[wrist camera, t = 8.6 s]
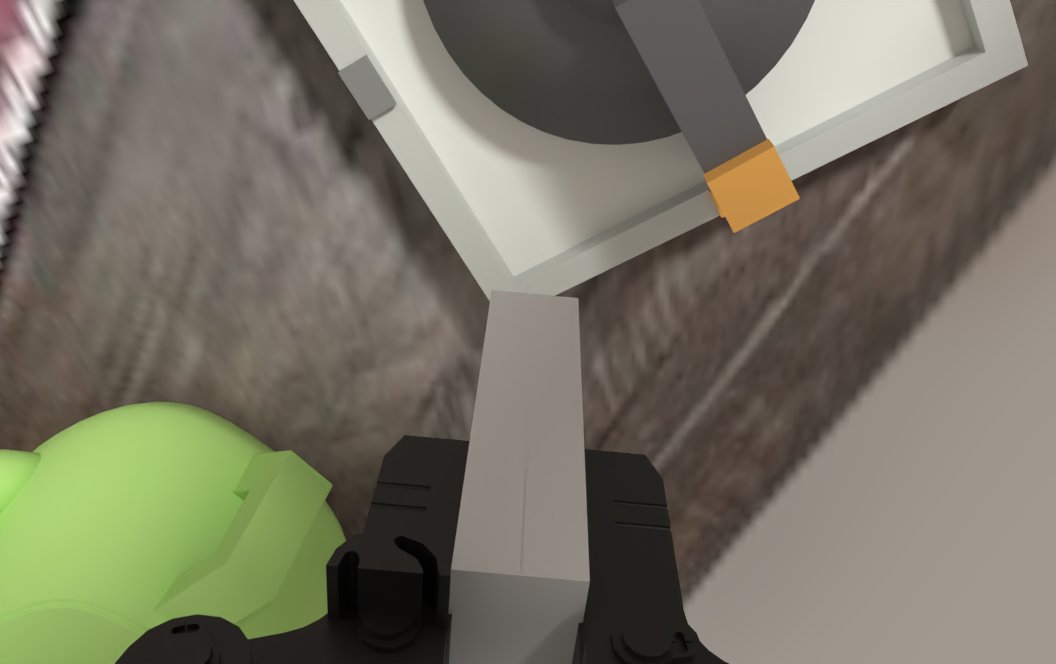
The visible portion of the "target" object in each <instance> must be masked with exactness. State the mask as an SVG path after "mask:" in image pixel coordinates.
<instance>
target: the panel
mask: <svg viewBox="0 0 1056 664" xmlns="http://www.w3.org/2000/svg"><path fill="white" fill-rule="evenodd" d="M294 2H295V3H296V5H297V6H298V8H299V9H300V11H301V12H302V14H303V16H304V17H305V19H306V20H307V22H308V23H309V25H310V26H311V28H312V29H313V31H314V32H315V34H316V35H317V37H318V39H319V40H320V42H321V43H322V45H323V46H324V48H325V49H326V51H327V52H328V54H329V55H330V57H331V58H332V60H333V62H334V63H335V65H336V66H337V68H338V69H339V72H338V74H339V75H340V77H341V78H342V80H343V81H344V83H345V84H346V86H347V88H348V89H349V91H350V92H351V94H352V95H353V97H354V98H355V100H356V101H357V103H358V104H359V106H360V107H361V109H362V110H363V112H364V114H365V115H366V117H367V118H368V120H370V119H371V120H372V121H373V123H374V124H375V126H376V128H377V129H378V131H379V132H380V134H381V135H382V137H383V138H384V140H385V141H386V143H387V144H388V146H389V147H390V149H391V151H392V152H393V154H394V155H395V157H396V158H397V160H398V161H399V163H400V164H401V166H402V167H403V169H404V170H405V172H406V174H407V175H408V177H409V178H410V180H411V181H412V183H413V184H414V186H415V187H416V189H417V190H418V192H419V193H420V195H421V197H422V198H423V200H424V201H425V203H426V204H427V206H428V207H429V209H430V210H431V212H432V213H433V215H434V216H435V218H436V220H437V221H438V223H439V224H440V226H441V227H442V229H443V230H444V232H445V233H446V235H447V236H448V238H449V239H450V241H451V243H452V244H453V246H454V247H455V249H456V250H457V252H458V253H459V255H460V256H461V258H462V259H463V261H464V262H465V264H466V266H467V267H468V269H469V270H470V272H471V273H472V275H473V276H474V278H475V279H476V281H477V282H478V284H479V286H480V287H481V289H482V290H483V292H484V293H485V295H486V296H487V298H488V299H489V301H490V298H491V291H492V290H497V291H508V292H518V293H529V294H540V295H550V296H555V295H558V294H560V293H562V292H564V291H566V290H568V289H570V288H572V287H574V286H576V285H578V284H580V283H582V282H584V281H586V280H588V279H590V278H592V277H595V276H597V275H599V274H601V273H603V272H605V271H607V270H609V269H611V268H613V267H615V266H617V265H619V264H621V263H623V262H625V261H627V260H629V259H632V258H634V257H636V256H638V255H640V254H642V253H644V252H646V251H648V250H650V249H652V248H654V247H656V246H658V245H660V244H662V243H664V242H666V241H669V240H671V239H673V238H675V237H677V236H679V235H681V234H683V233H685V232H687V231H689V230H691V229H693V228H695V227H697V226H699V225H701V224H703V223H706V222H708V221H710V220H712V219H714V218H716V217H718V216H721V218H723V217H725V215H724V213H723V212H722V210H721V208H720V206H719V204H718V202H717V201H716V199H715V197H714V195H713V193H712V191H711V189H710V188H709V186H708V184H707V182H706V180H705V177H704V175H703V174H704V172H703V170H702V168H701V166H700V164H699V163H698V161H697V159H696V157H695V155H694V153H693V151H692V150H691V148H690V146H689V144H688V142H687V140H686V138H685V137H684V135H683V133H682V132H680V133H678V134H675V135H672V136H669V137H666V138H661V139H657V140H652V141H647V142H643V143H633V144H621V145H607V144H590V143H584V142H579V141H573V140H567V139H564V138H561V137H558V136H554V135H551V134H548V133H545V132H543V131H540V130H538V129H536V128H534V127H532V126H529V125H527V124H525V123H523V122H521V121H519V120H518V119H516V118H515V117H513V116H511V115H510V114H508V113H507V112H505V111H503V110H502V109H500V108H499V107H498V106H497V105H496V104H494V103H493V102H492V101H491V100H489V99H488V98H487V97H486V96H485V95H483V94H482V93H481V92H480V91H479V90H478V89H477V88H476V87H475V86H474V85H473V84H472V82H471V81H470V80H469V79H468V78H467V77H466V76H465V75H464V74H463V73H462V71H461V70H460V69H459V67H458V66H457V64H456V63H455V62H454V60H453V59H452V58H451V56H450V55H449V54H448V52H447V50H446V48H445V47H444V45H443V43H442V41H441V40H440V38H439V36H438V34H437V32H436V31H435V29H434V26H433V24H432V21H431V19H430V16H429V14H428V11H427V9H426V7H425V4H424V1H423V0H294ZM1026 66H1028V63H1027V59H1026V56H1025V52H1024V49H1023V45H1022V41H1021V38H1020V34H1019V31H1018V27H1017V24H1016V20H1015V17H1014V13H1013V10H1012V6H1011V2H1010V0H815V1H814V4H813V6H812V8H811V10H810V13H809V15H808V17H807V19H806V21H805V23H804V24H803V26H802V28H801V29H800V31H799V33H798V35H797V36H796V38H795V40H794V41H793V43H792V45H791V46H790V47H789V49H788V50H787V51H786V52H785V54H784V55H783V56H782V58H781V59H780V60H779V62H778V63H777V64H776V66H775V67H774V68H773V69H772V70H771V71H770V72H769V73H768V74H767V75H766V76H765V77H764V78H763V79H762V80H761V82H760V83H759V84H758V85H757V86H756V87H755V88H753V89H752V90H751V91H750V92H748V93H747V94H746V97H747V99H748V101H749V103H750V105H751V107H752V110H753V112H754V114H755V116H756V118H757V120H758V122H759V124H760V126H761V128H762V130H763V132H764V134H765V136H766V138H767V139H769V140H770V141H771V142H772V144H773V145H774V147H775V149H776V151H777V153H778V155H779V157H780V159H781V161H782V163H783V165H784V167H785V169H786V171H787V173H788V175H789V177H790V179H791V181H792V180H794V179H796V178H798V177H800V176H802V175H804V174H806V173H808V172H810V171H812V170H814V169H816V168H819V167H821V166H823V165H825V164H827V163H829V162H831V161H833V160H835V159H837V158H839V157H841V156H843V155H845V154H847V153H849V152H851V151H853V150H856V149H858V148H860V147H862V146H864V145H866V144H868V143H870V142H872V141H874V140H876V139H878V138H880V137H882V136H884V135H886V134H888V133H890V132H893V131H895V130H897V129H899V128H901V127H903V126H905V125H907V124H909V123H911V122H913V121H915V120H917V119H919V118H921V117H923V116H925V115H927V114H930V113H932V112H934V111H936V110H938V109H940V108H942V107H944V106H946V105H948V104H950V103H952V102H954V101H956V100H958V99H960V98H962V97H964V96H967V95H969V94H971V93H973V92H975V91H977V90H979V89H981V88H983V87H985V86H987V85H989V84H991V83H993V82H995V81H997V80H999V79H1001V78H1004V77H1006V76H1008V75H1010V74H1012V73H1014V72H1016V71H1018V70H1020V69H1022V68H1024V67H1026Z"/></svg>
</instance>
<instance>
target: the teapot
mask: <svg viewBox="0 0 1056 664" xmlns="http://www.w3.org/2000/svg"><path fill="white" fill-rule="evenodd" d="M332 486H333V484H331V483H330V482H329V481H328V480H327V479H325V478H324V477H323V476H322V475H320V474H319V473H318V472H317V471H316V470H314V469H313V468H312V467H311V466H310V465H308V464H307V463H306V462H305V461H303V460H302V459H301V458H300V457H299V456H297V455H296V454H295V453H294V452H293V451H291V450H290V451H277V452H275V451H274V450H273V449H271V448H270V447H268V446H267V445H266V444H264V443H263V442H261V441H260V440H258V439H257V438H256V437H254V436H253V435H251V434H250V433H248V432H246V431H245V430H243V429H242V428H240V427H238V426H237V425H235V424H234V423H232V422H230V421H229V420H227V419H225V418H223V417H221V416H219V415H217V414H215V413H213V412H211V411H208V410H206V409H203V408H200V407H197V406H194V405H190V404H184V403H178V402H148V403H139V404H131V405H127V406H123V407H119V408H115V409H112V410H108V411H105V412H101V413H99V414H97V415H94V416H92V417H89V418H87V419H84V420H82V421H80V422H78V423H76V424H74V425H72V426H71V427H69V428H67V429H65V430H63V431H61V432H60V433H58V434H56V435H55V436H53V437H52V438H50V439H49V440H47V441H46V442H44V443H43V444H41V445H40V446H38V447H37V448H36V449H35V450H34V451H33V452H25V451H15V450H0V664H115V662H116V661H117V660H118V659H119V658H120V656H121V655H122V654H123V653H124V652H125V651H126V649H127V648H128V647H129V646H130V645H131V644H132V643H134V642H135V641H136V640H137V639H138V638H139V637H141V636H142V635H143V634H144V633H145V632H146V631H148V630H149V629H151V628H153V627H156V626H158V625H160V624H162V623H164V622H166V621H168V620H171V619H173V618H179V617H185V616H191V615H196V614H199V615H208V616H216V617H222V618H223V619H225V620H227V621H229V622H231V623H233V624H235V625H237V626H239V627H240V629H241V630H242V632H243V633H244V635H245V636H246V637H247V639H253V638H258V637H263V636H269V635H274V634H280V633H285V632H288V631H292V630H295V629H299V628H303V627H305V626H307V625H309V624H311V623H313V622H315V621H317V620H319V619H320V618H322V617H323V616H324V615H326V614H327V613H328V610H327V581H326V564H327V563H328V561H329V559H330V558H331V556H332V554H333V553H334V551H335V549H336V548H337V547H339V546H340V545H342V544H343V543H344V542H346V540H345V537H344V534H343V531H342V528H341V526H340V524H339V522H338V520H337V518H336V517H335V515H334V513H333V512H332V510H331V508H330V507H329V505H328V504H327V502H326V498H327V496H328V494H329V492H330V490H331V488H332Z"/></svg>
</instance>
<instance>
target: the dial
mask: <svg viewBox="0 0 1056 664" xmlns="http://www.w3.org/2000/svg"><path fill="white" fill-rule="evenodd" d="M423 1H424V4H425V7H426V9H427V11H428V14H429V16H430V19H431V21H432V24H433V26H434V29H435V31H436V32H437V34H438V36H439V38H440V40H441V41H442V43H443V45H444V47H445V48H446V50H447V52H448V54H449V55H450V56H451V58H452V59H453V60H454V62H455V63H456V64H457V66H458V67H459V69H460V70H461V71H462V73H463V74H464V75H465V76H466V77H467V78H468V79H469V80H470V81H471V82H472V84H473V85H474V86H475V87H476V88H477V89H478V90H479V91H480V92H481V93H482V94H483V95H485V96H486V97H487V98H488V99H489V100H491V101H492V102H493V103H494V104H496V105H497V106H498V107H499V108H500V109H502V110H503V111H505V112H507V113H508V114H510V115H511V116H513V117H515V118H516V119H518V120H519V121H521V122H523V123H525V124H527V125H529V126H532V127H534V128H536V129H538V130H540V131H543V132H545V133H548V134H551V135H554V136H558V137H561V138H564V139H567V140H573V141H579V142H584V143H590V144H607V145H621V144H633V143H643V142H647V141H652V140H657V139H661V138H666V137H669V136H672V135H675V134H678V133H680V132H682V133H683V135H684V137H685V138H686V140H687V142H688V144H689V146H690V148H691V150H692V151H693V153H694V155H695V157H696V159H697V161H698V163H699V164H700V166H701V168H702V170H703V172H704V174H703V175H704V177H705V180H706V182H707V184H708V186H709V188H710V189H711V191H712V193H713V195H714V197H715V199H716V201H717V202H718V204H719V206H720V208H721V210H722V212H723V213H724V215H725V217H726V219H727V221H728V223H729V225H730V226H731V228H732V230H733V232H734V233H735V232H737V231H739V230H741V229H743V228H745V227H747V226H749V225H751V224H752V223H754V222H756V221H758V220H760V219H762V218H764V217H766V216H768V215H770V214H772V213H773V212H775V211H777V210H779V209H781V208H783V207H785V206H787V205H789V204H791V203H793V202H794V201H796V200H798V199H800V197H799V195H798V193H797V191H796V189H795V187H794V185H793V183H792V181H791V179H790V177H789V175H788V173H787V171H786V169H785V167H784V165H783V163H782V161H781V159H780V157H779V155H778V153H777V151H776V149H775V147H774V145H773V144H772V142H771V141H770V140H769V139H767V138H766V136H765V134H764V132H763V130H762V128H761V126H760V124H759V122H758V120H757V118H756V116H755V114H754V112H753V110H752V107H751V105H750V103H749V101H748V99H747V97H746V94H747V93H748V92H750V91H751V90H752V89H753V88H755V87H756V86H757V85H758V84H759V83H760V82H761V80H762V79H763V78H764V77H765V76H766V75H767V74H768V73H769V72H770V71H771V70H772V69H773V68H774V67H775V66H776V64H777V63H778V62H779V60H780V59H781V58H782V56H783V55H784V54H785V52H786V51H787V50H788V49H789V47H790V46H791V45H792V43H793V41H794V40H795V38H796V36H797V35H798V33H799V31H800V29H801V28H802V26H803V24H804V23H805V21H806V19H807V17H808V15H809V13H810V10H811V8H812V6H813V4H814V1H815V0H423Z"/></svg>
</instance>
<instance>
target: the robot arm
mask: <svg viewBox="0 0 1056 664" xmlns="http://www.w3.org/2000/svg"><path fill="white" fill-rule="evenodd" d="M666 507H667V503H666V497H665V491H664V484H663V479H662V477H661V476H660V475H659V473H658V472H657V471H656V469H655V468H654V467H653V465H652V464H651V462H650V461H649V460H648V458H647V457H646V456H645V455H641V454H630V453H619V452H608V451H597V450H586V449H584V427H583V403H582V378H581V354H580V330H579V305H578V298H571V297H561V296H550V295H540V294H529V293H518V292H508V291H497V290H492V291H491V298H490V305H489V312H488V319H487V325H486V332H485V339H484V346H483V353H482V360H481V367H480V374H479V380H478V387H477V394H476V401H475V408H474V415H473V422H472V428H471V435H470V441H462V440H451V439H440V438H429V437H417V436H406V435H404V437H403V438H402V439H401V440H400V441H399V442H398V443H397V444H396V445H395V446H394V447H393V448H392V449H391V450H390V451H389V452H388V453H387V454H386V455H385V456H384V459H383V463H382V466H381V470H380V473H379V477H378V481H377V486H376V488H375V491H374V495H373V499H372V502H371V508H370V509H369V513H368V517H367V520H366V524H365V527H364V531H363V533H360V534H357V535H354V536H352V537H351V538H350V539H348V540H347V541H346V542H344V543H343V544H342V545H340V546H339V547H337V548H336V549H335V551H334V553H333V554H332V556H331V558H330V559H329V561H328V563H327V564H326V581H327V610H328V613H327V614H326V615H324V616H323V617H322V618H320V619H319V620H317V621H315V622H313V623H311V624H309V625H307V626H305V627H303V628H299V629H295V630H292V631H288V632H285V633H280V634H274V635H269V636H263V637H258V638H253V639H247V637H246V636H245V635H244V633H243V632H242V630H241V629H240V627H239V626H237V625H235V624H233V623H231V622H229V621H227V620H225V619H223V618H222V617H216V616H208V615H199V614H196V615H191V616H185V617H179V618H173V619H171V620H168V621H166V622H164V623H162V624H160V625H158V626H156V627H153V628H151V629H149V630H148V631H146V632H145V633H144V634H143V635H142V636H141V637H139V638H138V639H137V640H136V641H135V642H134V643H132V644H131V645H130V646H129V647H128V648H127V649H126V651H125V652H124V653H123V654H122V655H121V656H120V658H119V659H118V660H117V661H116V662H115V664H728V663H726V662H724V661H723V660H721V659H720V658H718V657H717V656H716V655H714V654H713V653H711V652H710V651H709V650H708V649H707V648H706V647H705V646H704V645H703V644H702V643H701V642H700V641H699V638H698V636H697V633H696V632H695V631H694V630H693V629H692V628H691V627H690V626H689V625H688V623H687V620H686V617H685V613H684V610H683V604H682V597H681V591H680V585H679V579H678V572H677V566H676V560H675V553H674V547H673V541H672V535H671V532H670V522H669V516H668V510H666Z"/></svg>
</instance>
